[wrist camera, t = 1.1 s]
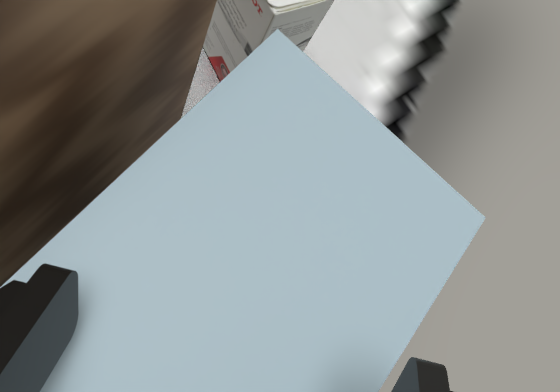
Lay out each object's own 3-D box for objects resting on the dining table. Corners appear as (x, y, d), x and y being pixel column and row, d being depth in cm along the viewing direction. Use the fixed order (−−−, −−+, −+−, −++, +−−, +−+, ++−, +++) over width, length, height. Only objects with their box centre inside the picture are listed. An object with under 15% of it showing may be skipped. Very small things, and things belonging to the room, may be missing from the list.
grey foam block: (137, 497, 31) (187, 701, 12) (8, 387, 31) (-145, 421, 12) (294, 291, 38) (485, 217, 19) (190, 198, 38) (277, 28, 19)
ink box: (284, 90, 43) (344, -2, 32) (230, 107, 41) (274, 15, 30) (238, 0, 44) (282, -118, 33) (184, 12, 42) (211, -108, 31)
